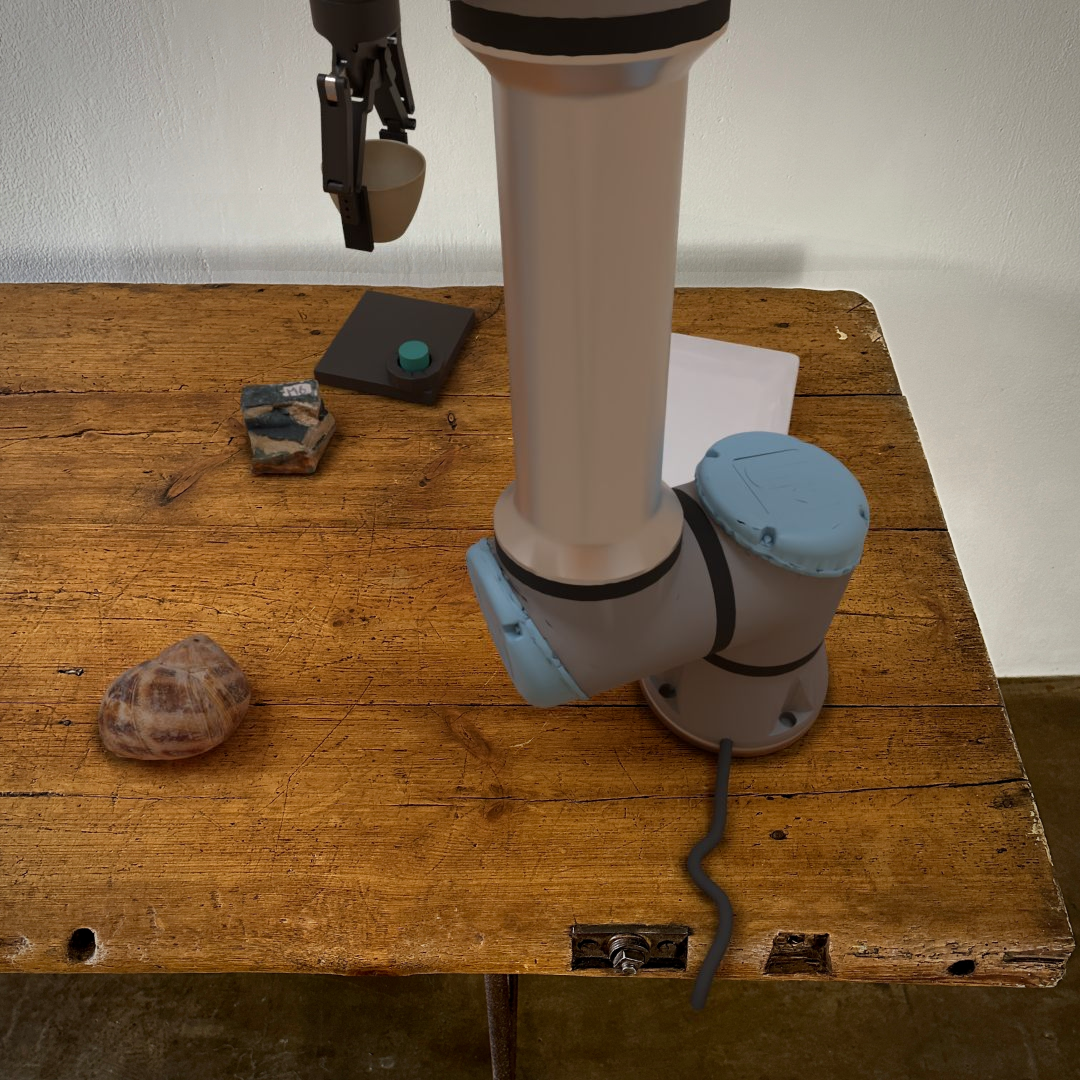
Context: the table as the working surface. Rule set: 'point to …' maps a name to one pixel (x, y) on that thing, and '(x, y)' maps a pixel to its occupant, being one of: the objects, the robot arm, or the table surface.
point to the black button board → (395, 346)
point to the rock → (286, 426)
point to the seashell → (175, 702)
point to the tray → (721, 398)
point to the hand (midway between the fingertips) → (380, 219)
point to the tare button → (414, 356)
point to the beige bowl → (391, 186)
